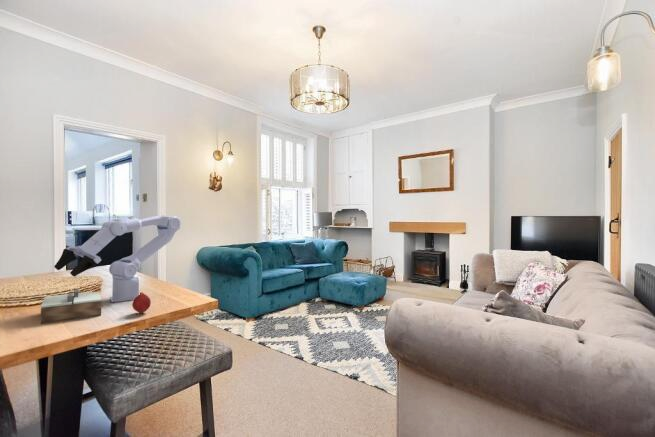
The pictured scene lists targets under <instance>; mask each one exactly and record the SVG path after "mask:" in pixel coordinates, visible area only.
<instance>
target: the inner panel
mask: <svg viewBox="0 0 655 437" xmlns="http://www.w3.org/2000/svg"><path fill="white" fill-rule="evenodd" d="M73 296H74V301H73V304H79V303H88V302H97V301H101V302H102V294H101V291H99V290H98V291H88V292H79V288H74V291H73Z"/></svg>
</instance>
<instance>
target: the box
mask: <svg viewBox="0 0 655 437" xmlns="http://www.w3.org/2000/svg"><path fill="white" fill-rule="evenodd" d="M73 301H74V295H73V299H72V304H71V305H62V306H53V307H45V308H41V307H40V324H48V323H49V324H50V323H56V322H62V321H63V322H65V321H70V320H71V321H72V320H76V319H77V320H78V319H85V318H93V317H99V316H100V317H101V316H102V300H101V301H97V302H88V303H79V304H73Z"/></svg>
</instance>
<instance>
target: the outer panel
mask: <svg viewBox="0 0 655 437" xmlns="http://www.w3.org/2000/svg"><path fill="white" fill-rule="evenodd" d="M73 296H74V293H73V292H68V293H67V294H56V295H49V296H48V295H47V296H44V298H43V300H42V302H41V306H40V309H41V308H45V307H53V306H62V305H71V304H72V299H73Z"/></svg>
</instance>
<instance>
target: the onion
mask: <svg viewBox="0 0 655 437" xmlns="http://www.w3.org/2000/svg"><path fill="white" fill-rule="evenodd" d="M151 304H152V302H151V298H150V297H149V296H148V295H147V294H145V293H144V292H143V291H139V295H138V296H137V297H136V298H135V299H134V300H132V304H131V306H132V309H133V310H134V311H136V312H137V313H138V314H141V315H142V314H145V312H147V311H148V310H149V308H150V307H151Z"/></svg>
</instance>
